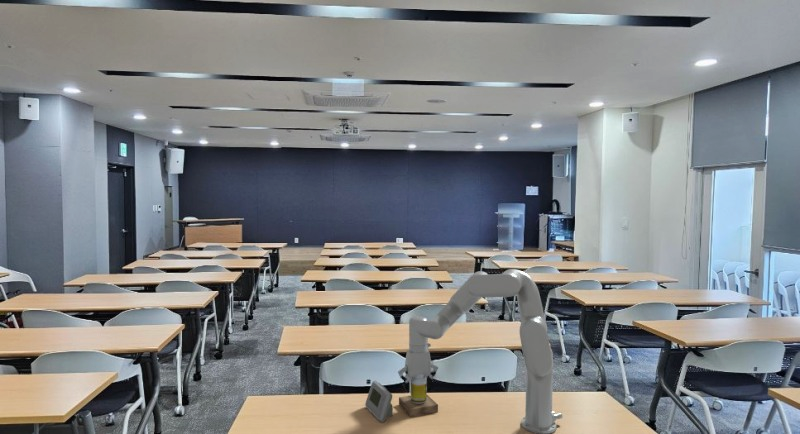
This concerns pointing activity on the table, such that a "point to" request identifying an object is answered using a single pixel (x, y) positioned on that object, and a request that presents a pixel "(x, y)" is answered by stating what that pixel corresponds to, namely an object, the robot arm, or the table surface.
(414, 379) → the pill bottle
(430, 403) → the walnut block
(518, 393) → the table surface
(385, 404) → the digital clock
